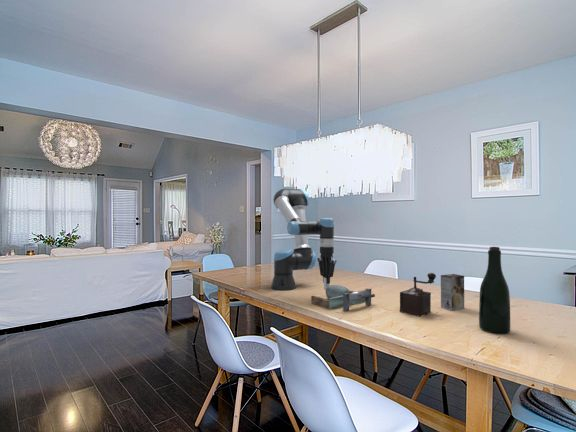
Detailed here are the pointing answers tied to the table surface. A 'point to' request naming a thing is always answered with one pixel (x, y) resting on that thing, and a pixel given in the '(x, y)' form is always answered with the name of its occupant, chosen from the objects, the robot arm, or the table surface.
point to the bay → (333, 301)
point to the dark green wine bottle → (494, 297)
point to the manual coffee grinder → (416, 299)
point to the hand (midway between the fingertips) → (326, 289)
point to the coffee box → (452, 292)
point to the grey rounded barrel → (335, 291)
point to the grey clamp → (355, 296)
